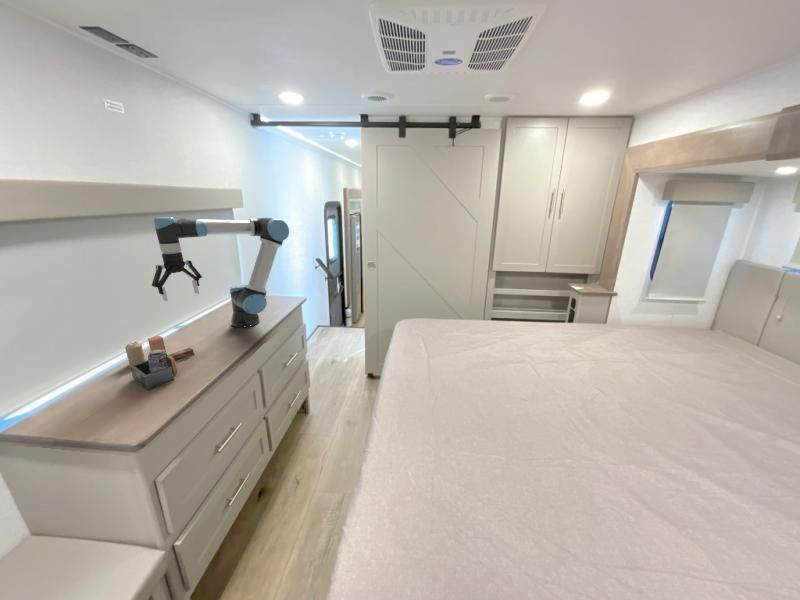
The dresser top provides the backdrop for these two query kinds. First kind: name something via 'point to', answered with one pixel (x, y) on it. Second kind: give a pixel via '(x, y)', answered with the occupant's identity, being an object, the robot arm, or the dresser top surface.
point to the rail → (182, 354)
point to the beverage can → (157, 360)
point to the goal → (151, 375)
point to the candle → (135, 353)
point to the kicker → (158, 344)
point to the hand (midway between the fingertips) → (181, 296)
